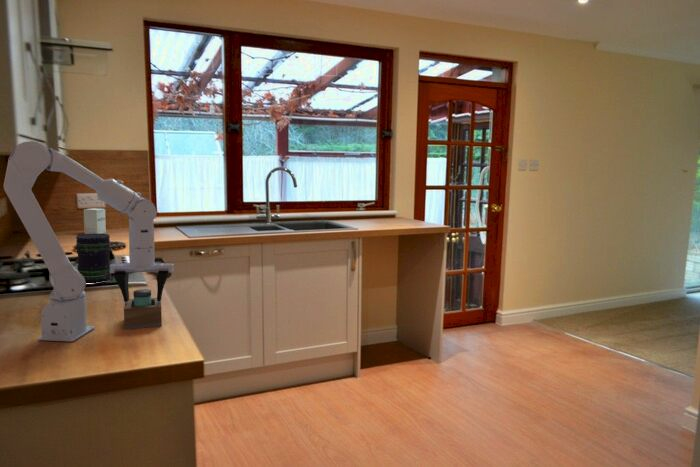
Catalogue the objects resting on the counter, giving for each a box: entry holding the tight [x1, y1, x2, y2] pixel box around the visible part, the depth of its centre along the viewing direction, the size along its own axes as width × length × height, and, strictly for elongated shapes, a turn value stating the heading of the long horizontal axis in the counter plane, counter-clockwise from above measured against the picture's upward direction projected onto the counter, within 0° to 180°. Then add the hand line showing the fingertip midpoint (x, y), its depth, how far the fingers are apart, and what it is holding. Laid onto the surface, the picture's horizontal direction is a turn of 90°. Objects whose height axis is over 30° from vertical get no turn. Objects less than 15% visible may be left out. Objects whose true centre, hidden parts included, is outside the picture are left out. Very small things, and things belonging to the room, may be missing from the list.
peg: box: [132, 288, 152, 307], centre depth 127 cm, size 4×4×7 cm
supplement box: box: [83, 207, 107, 234], centre depth 260 cm, size 7×7×13 cm
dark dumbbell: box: [154, 256, 173, 279], centre depth 177 cm, size 6×5×15 cm
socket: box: [123, 297, 163, 330], centre depth 127 cm, size 8×8×5 cm
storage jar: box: [75, 233, 112, 283], centre depth 165 cm, size 10×10×15 cm
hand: (143, 300), depth 127 cm, fingers open, 7 cm apart
